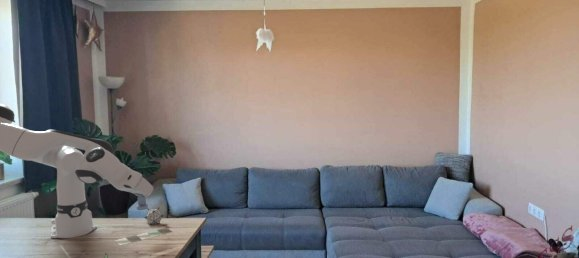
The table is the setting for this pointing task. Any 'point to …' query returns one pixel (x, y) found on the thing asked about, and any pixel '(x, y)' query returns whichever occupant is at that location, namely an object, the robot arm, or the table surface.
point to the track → (143, 236)
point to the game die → (153, 216)
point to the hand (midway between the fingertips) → (143, 195)
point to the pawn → (141, 202)
